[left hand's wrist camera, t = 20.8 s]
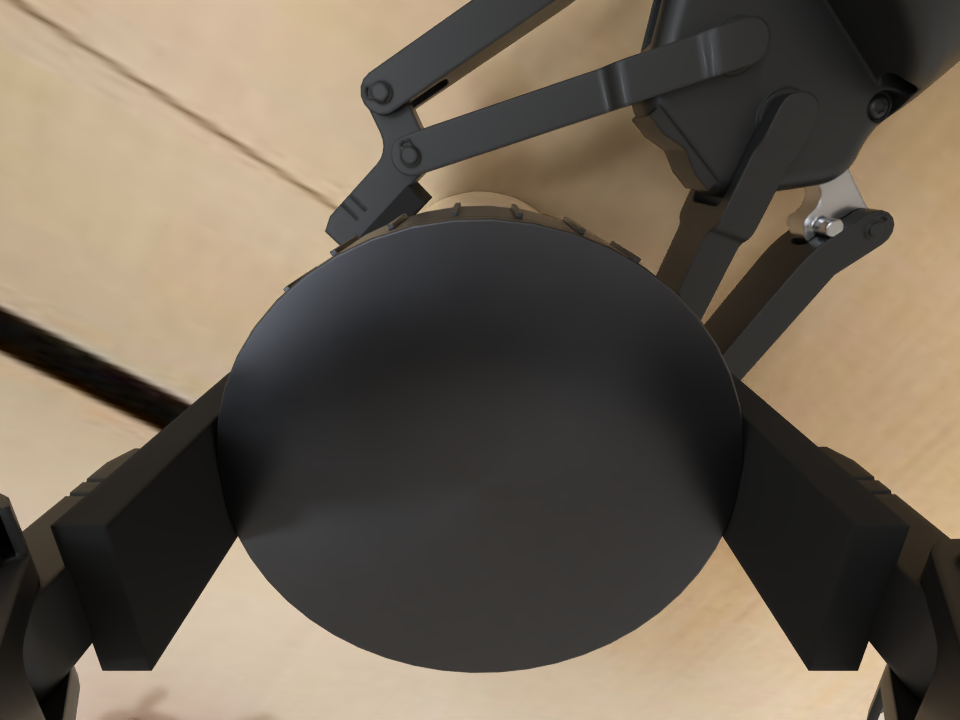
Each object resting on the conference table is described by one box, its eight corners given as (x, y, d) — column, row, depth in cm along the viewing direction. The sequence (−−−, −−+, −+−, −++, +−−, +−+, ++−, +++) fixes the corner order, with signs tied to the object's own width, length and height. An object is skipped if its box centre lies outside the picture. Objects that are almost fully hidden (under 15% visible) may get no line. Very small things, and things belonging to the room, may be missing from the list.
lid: (396, 93, 10) (370, 73, 8) (792, 363, 12) (867, 413, 10) (195, 482, 13) (134, 552, 11) (535, 645, 15) (546, 732, 13)
